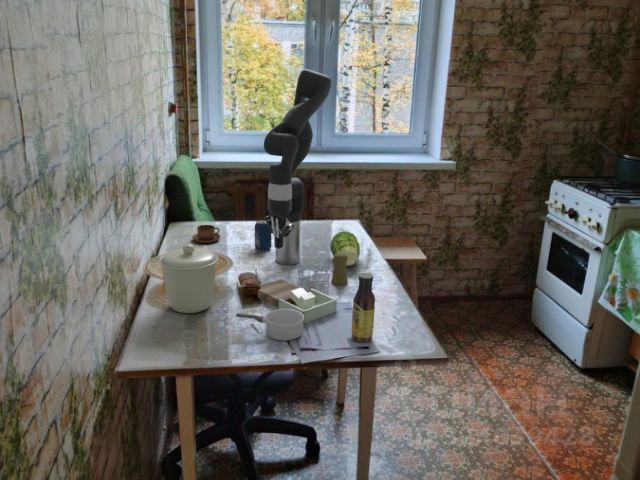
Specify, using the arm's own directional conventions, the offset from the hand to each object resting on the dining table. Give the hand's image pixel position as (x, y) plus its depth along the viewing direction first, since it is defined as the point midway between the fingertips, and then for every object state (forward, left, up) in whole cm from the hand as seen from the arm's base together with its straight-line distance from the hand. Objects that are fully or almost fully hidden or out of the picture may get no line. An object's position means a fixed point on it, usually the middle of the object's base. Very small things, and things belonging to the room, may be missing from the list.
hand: (278, 247), depth 187 cm
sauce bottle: (+38, +1, -18) cm, 42 cm away
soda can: (-44, +27, -18) cm, 54 cm away
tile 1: (+10, +1, -15) cm, 18 cm away
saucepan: (+19, -18, -18) cm, 32 cm away
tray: (+14, +1, -18) cm, 23 cm away
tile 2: (+12, +1, -14) cm, 19 cm away
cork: (+3, +26, -18) cm, 31 cm away
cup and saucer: (-68, +14, -18) cm, 72 cm away
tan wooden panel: (+1, +1, -18) cm, 18 cm away
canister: (-12, -26, -18) cm, 34 cm away
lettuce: (-10, +42, -18) cm, 46 cm away
